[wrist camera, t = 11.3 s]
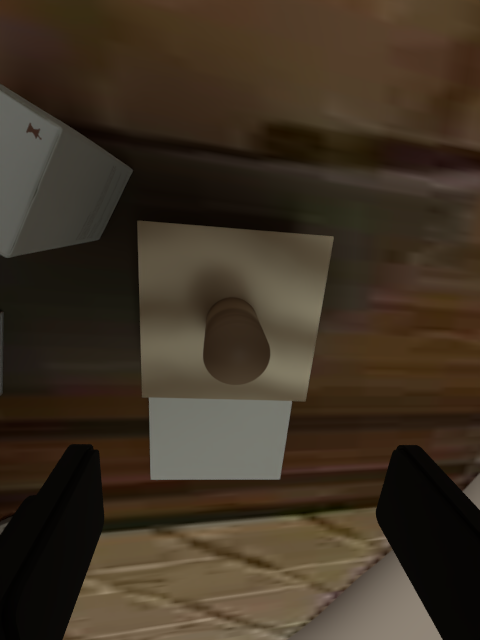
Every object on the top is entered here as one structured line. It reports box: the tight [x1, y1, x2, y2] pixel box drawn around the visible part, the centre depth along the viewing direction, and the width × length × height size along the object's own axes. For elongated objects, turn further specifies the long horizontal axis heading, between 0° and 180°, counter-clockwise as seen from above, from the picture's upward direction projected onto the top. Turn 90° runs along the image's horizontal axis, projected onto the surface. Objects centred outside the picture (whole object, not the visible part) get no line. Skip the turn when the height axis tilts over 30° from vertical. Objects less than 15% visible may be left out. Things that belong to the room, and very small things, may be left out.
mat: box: [149, 397, 292, 480], centre depth 34 cm, size 16×16×1 cm
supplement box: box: [0, 84, 133, 258], centre depth 20 cm, size 7×7×13 cm
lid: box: [137, 221, 334, 401], centre depth 21 cm, size 14×14×7 cm
